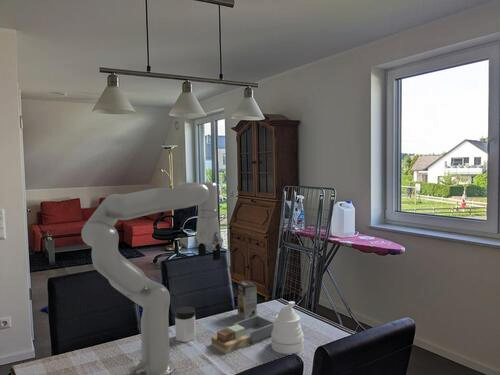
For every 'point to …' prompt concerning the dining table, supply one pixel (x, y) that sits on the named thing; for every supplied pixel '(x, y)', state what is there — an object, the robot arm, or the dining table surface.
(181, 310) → the jar
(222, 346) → the board
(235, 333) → the tile far
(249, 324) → the tray
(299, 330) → the honey pot
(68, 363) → the dining table surface
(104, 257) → the robot arm
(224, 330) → the tile near
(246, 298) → the coffee box
